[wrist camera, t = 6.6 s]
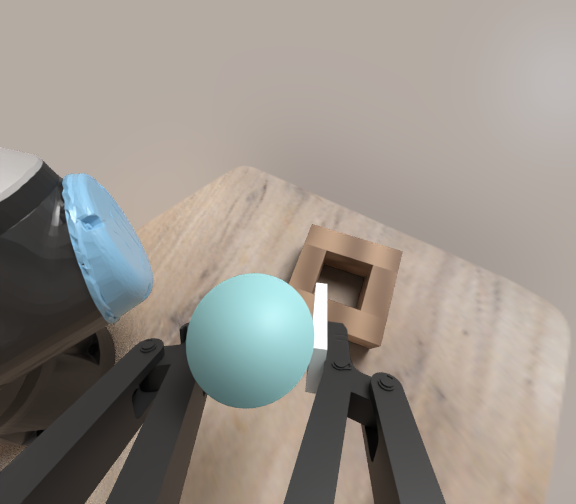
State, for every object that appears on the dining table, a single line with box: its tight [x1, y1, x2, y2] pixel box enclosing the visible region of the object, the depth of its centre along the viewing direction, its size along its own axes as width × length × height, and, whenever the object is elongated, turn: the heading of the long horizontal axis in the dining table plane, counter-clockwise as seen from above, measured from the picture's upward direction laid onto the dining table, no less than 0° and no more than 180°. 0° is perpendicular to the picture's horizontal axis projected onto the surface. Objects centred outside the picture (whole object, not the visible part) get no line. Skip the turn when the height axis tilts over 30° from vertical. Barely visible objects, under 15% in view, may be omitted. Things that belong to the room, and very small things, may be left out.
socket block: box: [289, 224, 403, 349], centre depth 35 cm, size 12×12×5 cm
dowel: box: [186, 273, 315, 408], centre depth 15 cm, size 4×4×14 cm
